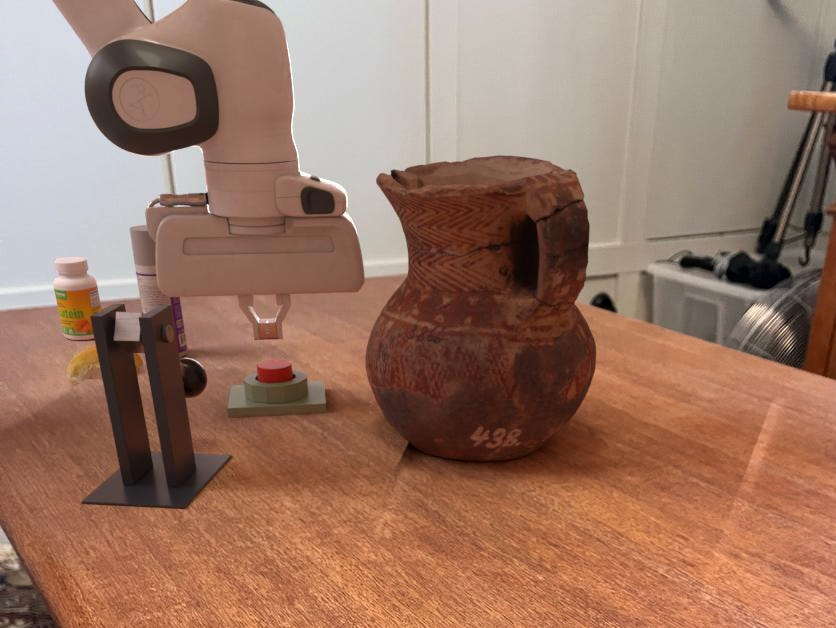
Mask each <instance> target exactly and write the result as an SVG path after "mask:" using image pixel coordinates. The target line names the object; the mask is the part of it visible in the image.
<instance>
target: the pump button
mask: <svg viewBox="0 0 836 628" xmlns="http://www.w3.org/2000/svg"><path fill="white" fill-rule="evenodd" d="M292 369H293V363H292V362H291V361H289V360H286V359H268V360H263V361H260V362H258V363H257V364H256V371H257V374H258V381H259V382H262V383H282V382H287V381H291V380H292V379H293V373H292Z"/></svg>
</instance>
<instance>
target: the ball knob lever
mask: <svg viewBox="0 0 836 628" xmlns="http://www.w3.org/2000/svg"><path fill="white" fill-rule="evenodd" d="M142 315H144V314H143V311H126V312H116V319H115V330H114V341H115V342H116V343H117V344H119V345H120V346H121V347H122V348H124V349H125V350H126V351H127V352H128V353H137V354H145V353H144V347H143V341H142V336H141V330H140V324H139V317H140V316H142ZM179 359H180V366H181V372H182V379H183V385H184V392H185V398H186V399H193V398H196V397H198V396H200V395H201V394H202V393H203V392H204V391H205V390H206V387H207V385H208V374H207V371H206V369H205V367H204V366H203V365H202V364H201V363H200V362H199V361H197V360H195V359H194V358H190V357H180V358H179Z"/></svg>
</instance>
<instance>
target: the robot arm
mask: <svg viewBox="0 0 836 628" xmlns="http://www.w3.org/2000/svg"><path fill="white" fill-rule="evenodd" d="M51 1H52V3H53V4H54V5H55V7H56V8H57V10H58V11H59V12H60V13H61V15H62V16H63V18H64V20H66V22H67V24H68V25H69V26H70V28H71V29H72V30H73V32H74V33H75V35H76V36H77V37H78V38H79V39H78V40H80V42H81V43H82V45H83V46H84V47H85V48H86V51H88V53H89V55H90V57H91V60H90V62H89V64H88V66H87V69H86V72H85V77H84V98H85V103H86V107H87V109H88V113H89V115H90V117H91V119H92V121H93V123H94V124H95V127H97V129H98V130H99V132H101V134H102V135H103V136H104V137H105V138H106V139H107V140H108V141H109V142H111V144H113V145H114V146H115V147H118V148H119V149H121V150H123V151H126V152H128V153H131V154H134V155H137V156H141V157H148V158H150V157H151V158H153V157H154V158H156V157H161V156H166V155H168V154H172V153H174V152H175V151H178V150H183V149H187V148H190V147H198V148H199V149H200V151H201V154H202V161H203V169H204V176H205V186H206V192H190V193H189V192H188V193H182V194H180V193H179V194H174V193H169V192H167V193H161V194H158V197H157V198H155V199H153V200H151V201H150V202H149V203H148V204H147V206H146V209H145V212H144V213H145V224H146V225H147V230H148V233H149V235H150V237H151V238H152V240H153V241H154V242H155V243H156V274H157V284H158V288H159V289H160V290H161V291H162V292H163V293H164V294H165V295H166V296H167V297H180V298H189V297H190V298H191V297H194V298H195V297H229V296H232V297H233V296H234V297H235V296H237V298H238V307H239V309H240V310H241V311H242V313H243V314H244V316H245V317H246V318H247V320H248V321H249V322H250V324H252V333H253V340H254V341H266V340H267V341H269V340H270V341H271V340H272V341H273V340H275V341H276V340H284V332H283V323H284V321H285V319H286V317H287V314H288V313H289V310H290V308H291V305H292V299H291V295H309V294H311V295H312V294H313V295H314V294H347V293H359V292H360V290H361V289H362V288H363V286H364V285H365V282H366V277H365V266H364V259H363V254H362V248H361V243H360V239H359V234H358V231H357V228H356V226H355V223H354V222H353V219H352V217H351V216H350V215H349V214H348V213H347V209H348V205H349V201H348V200H349V199H348V193H347V191H346V189H345V188H344V187H343V186H342V185H340V184H339V183H336V182H334V181H331V180H327V179H326V178H325V179H324V178H321V177H318V176H316V175H313V174H309V173H306V172H303V171H301V170H300V159H299V152H298V148H297V145H296V142H295V139H294V134H293V120H294V114H295V94H294V93H295V92H294V82H293V73H292V64H291V57H290V49H289V46H288V40H287V35H286V31H285V28H284V25H283V22H282V20H281V19H280V17H279V16H278V15H277V14H276V12H275V11H274V9H272V8H271V7H270V6H268V5H267V4H266V3H264V2H262V1H261V0H186V1H185V2H184V3H183V4H181V5H180V6H179V7H177V8H176V9H174V10H173V11H172V12H170V13H169V14H167V15H165V16H164V17H162V18H160V19H158V20H156V21H154V22H152V21H151V20H150V18H148V16H147V15H146V14H145V13H144V12H143V11H142V9H141V8H140V6H139V5H138V3H137V2H136V1H135V0H51ZM157 204H159V205H157ZM269 295H270V296H271V295H272V296H275V301H276V305H277V306H279V309H278V311H277V313H276V315H275V318H259V316H258V315H257V313H256V311H255V310H254V308H253V306H254V302H255V299H254V296H269Z"/></svg>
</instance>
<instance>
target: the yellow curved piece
mask: <svg viewBox="0 0 836 628" xmlns="http://www.w3.org/2000/svg"><path fill="white" fill-rule="evenodd" d="M133 354H134V360H135V365H136V371H137V373H138V372H139V370H140V367H141V366H144V361H143V359H142V357H141V355H140V354H139V353H133ZM66 377H67V379H68V381H69V382H70V383H71V384H72V385H74V386H78V385H79V384H81V383H82V382H84V381H85V380H91V379H92V380H102V375H101V369H100V364H99V359H98V354H97V349H96V344H93V345H92V346H89V347H87V348H85V349H83V350H81V351H79V352H77V353H76V354H75V356H73V358H72V359H71V361H70V362H69V363H68V365H67V367H66Z"/></svg>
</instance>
